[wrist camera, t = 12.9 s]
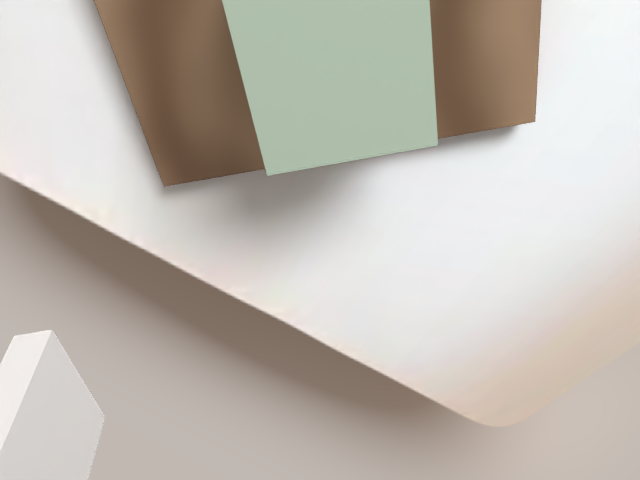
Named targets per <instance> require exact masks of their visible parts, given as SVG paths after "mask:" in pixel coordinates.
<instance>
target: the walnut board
mask: <svg viewBox="0 0 640 480" xmlns="http://www.w3.org/2000/svg"><path fill="white" fill-rule="evenodd" d="M94 1H95V4H96V6H97V9H98V12H99V14H100V17H101V20H102V22H103V25H104V28H105V30H106V33H107V36H108V38H109V41H110V44H111V46H112V49H113V52H114V54H115V57H116V60H117V62H118V65H119V68H120V70H121V73H122V76H123V78H124V81H125V84H126V86H127V89H128V92H129V94H130V97H131V100H132V102H133V105H134V108H135V110H136V113H137V116H138V118H139V121H140V124H141V126H142V129H143V132H144V134H145V137H146V140H147V142H148V145H149V148H150V150H151V153H152V156H153V158H154V161H155V164H156V166H157V169H158V172H159V174H160V177H161V180H162V182H163V185H164V186H170V185H175V184H181V183H187V182H193V181H198V180H204V179H210V178H216V177H221V176H227V175H233V174H238V173H244V172H250V171H256V170H261V169H265V165H264V162H263V158H262V154H261V150H260V146H259V142H258V138H257V134H256V130H255V127H254V123H253V119H252V115H251V111H250V107H249V103H248V99H247V95H246V92H245V88H244V84H243V80H242V76H241V72H240V68H239V64H238V61H237V57H236V53H235V49H234V45H233V41H232V37H231V33H230V29H229V26H228V22H227V18H226V14H225V10H224V6H223V2H222V0H94ZM429 1H430V17H431V34H432V51H433V68H434V85H435V102H436V119H437V136H438V139H439V138H445V137H451V136H456V135H462V134H468V133H474V132H479V131H485V130H491V129H496V128H502V127H508V126H514V125H519V124H525V123H531V122H535V115H536V96H537V76H538V57H539V38H540V19H541V0H429Z"/></svg>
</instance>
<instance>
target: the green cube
mask: <svg viewBox="0 0 640 480" xmlns="http://www.w3.org/2000/svg"><path fill="white" fill-rule="evenodd" d="M222 2H223V6H224V10H225V14H226V18H227V22H228V26H229V29H230V33H231V37H232V41H233V45H234V49H235V53H236V57H237V61H238V64H239V68H240V72H241V76H242V80H243V84H244V88H245V92H246V95H247V99H248V103H249V107H250V111H251V115H252V119H253V123H254V127H255V130H256V134H257V138H258V142H259V146H260V150H261V154H262V158H263V162H264V165H265V169H266V173H267V176H269V175H275V174H281V173H286V172H292V171H298V170H303V169H309V168H314V167H320V166H326V165H331V164H337V163H342V162H348V161H354V160H359V159H365V158H371V157H376V156H382V155H387V154H393V153H399V152H404V151H410V150H415V149H421V148H427V147H432V146H438V136H437V119H436V102H435V85H434V68H433V51H432V34H431V17H430V1H429V0H222Z"/></svg>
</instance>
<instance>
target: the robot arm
mask: <svg viewBox="0 0 640 480" xmlns="http://www.w3.org/2000/svg"><path fill="white" fill-rule="evenodd" d="M104 421H105V416H104V414H103V413H102V411H101V410H100V408H99V406H98V404H97V403H96V401H95V400H94V398H93V396H92V395H91V393H90V391H89V390H88V388H87V386H86V385H85V383H84V381H83V380H82V378H81V376H80V375H79V373H78V371H77V370H76V368H75V367H74V365H73V363H72V362H71V360H70V358H69V357H68V355H67V353H66V352H65V350H64V348H63V347H62V345H61V343H60V342H59V341H58V339H57V337H56V335H55V334H54V332H53V330H48V331H41V332H35V333H29V334H23V335H16V336H14V338H13V340H12V341H11V343H10V346H9V348H8V350H7V352H6V354H5V356H4V358H3V360H2V362H1V364H0V480H88V477H89V474H90V471H91V467H92V463H93V460H94V456H95V453H96V449H97V445H98V442H99V438H100V435H101V431H102V428H103V424H104Z"/></svg>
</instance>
